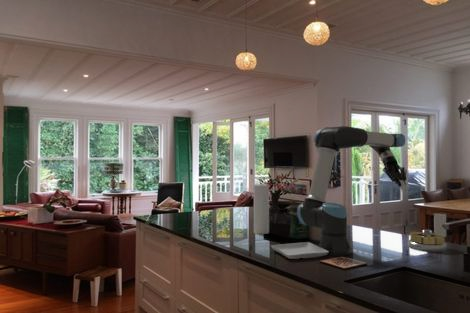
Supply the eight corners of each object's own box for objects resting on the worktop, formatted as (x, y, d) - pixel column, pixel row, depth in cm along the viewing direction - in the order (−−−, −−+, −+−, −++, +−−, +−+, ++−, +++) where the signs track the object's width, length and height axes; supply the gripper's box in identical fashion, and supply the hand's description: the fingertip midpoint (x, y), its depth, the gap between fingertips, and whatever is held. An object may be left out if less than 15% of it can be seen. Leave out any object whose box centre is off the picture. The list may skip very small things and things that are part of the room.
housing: (421, 252, 185) (421, 233, 185) (402, 244, 201) (401, 227, 202) (454, 251, 187) (453, 232, 187) (431, 243, 204) (431, 226, 204)
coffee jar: (295, 239, 215) (295, 206, 215) (287, 237, 222) (287, 205, 222) (309, 238, 219) (309, 205, 219) (301, 235, 226) (301, 204, 226)
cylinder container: (256, 234, 231) (256, 184, 231) (251, 231, 240) (251, 183, 240) (271, 233, 234) (271, 184, 234) (265, 230, 243) (265, 183, 243)
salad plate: (287, 262, 169) (287, 254, 169) (269, 251, 189) (269, 244, 189) (330, 258, 175) (330, 251, 175) (308, 248, 195) (308, 241, 195)
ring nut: (412, 243, 190) (412, 214, 190) (409, 237, 204) (409, 210, 204) (448, 245, 184) (448, 216, 184) (443, 239, 198) (443, 212, 198)
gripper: (396, 164, 230) (413, 194, 213) (375, 164, 228) (391, 194, 212) (401, 155, 225) (419, 185, 208) (380, 155, 223) (396, 186, 207)
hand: (405, 190), depth 210 cm, fingers closed
